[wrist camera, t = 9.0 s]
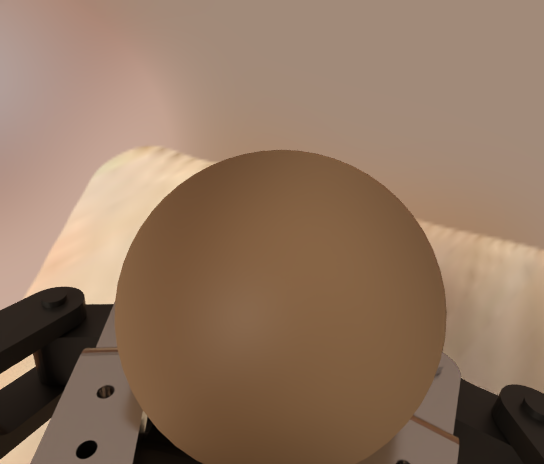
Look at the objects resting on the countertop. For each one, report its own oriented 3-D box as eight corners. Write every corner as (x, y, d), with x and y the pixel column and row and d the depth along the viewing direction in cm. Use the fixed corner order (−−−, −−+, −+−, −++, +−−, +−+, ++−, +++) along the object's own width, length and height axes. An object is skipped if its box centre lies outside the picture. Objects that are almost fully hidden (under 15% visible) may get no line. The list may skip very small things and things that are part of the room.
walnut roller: (325, 283, 17) (378, 123, 6) (357, 390, 16) (511, 428, 4) (228, 306, 17) (107, 185, 6) (247, 417, 15) (124, 527, 4)
